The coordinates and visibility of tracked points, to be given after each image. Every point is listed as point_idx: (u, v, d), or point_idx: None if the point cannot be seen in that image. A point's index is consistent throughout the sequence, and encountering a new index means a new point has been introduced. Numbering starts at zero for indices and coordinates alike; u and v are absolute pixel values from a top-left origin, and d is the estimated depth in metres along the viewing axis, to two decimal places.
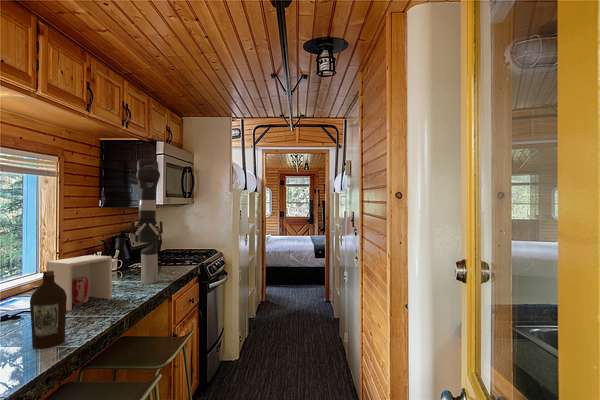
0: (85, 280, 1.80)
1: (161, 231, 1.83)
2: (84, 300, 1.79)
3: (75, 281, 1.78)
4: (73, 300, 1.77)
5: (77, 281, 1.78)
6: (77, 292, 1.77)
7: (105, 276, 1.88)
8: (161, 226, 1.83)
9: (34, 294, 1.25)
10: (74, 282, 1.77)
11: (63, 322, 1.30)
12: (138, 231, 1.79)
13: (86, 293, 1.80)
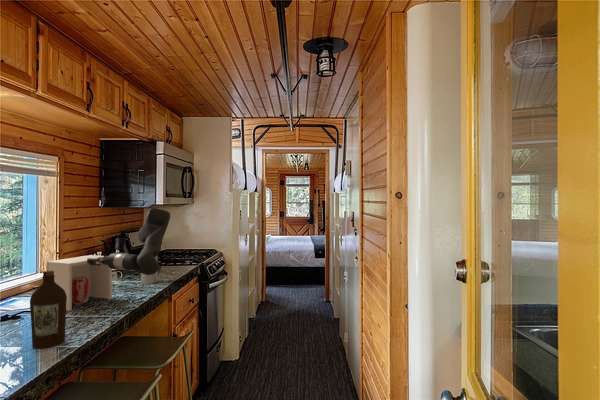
0: (85, 280, 1.80)
1: None
2: (84, 300, 1.79)
3: (75, 281, 1.78)
4: (73, 300, 1.77)
5: (77, 281, 1.78)
6: (77, 292, 1.77)
7: (105, 276, 1.88)
8: None
9: (34, 294, 1.25)
10: (74, 282, 1.77)
11: (63, 322, 1.30)
12: None
13: (86, 293, 1.80)
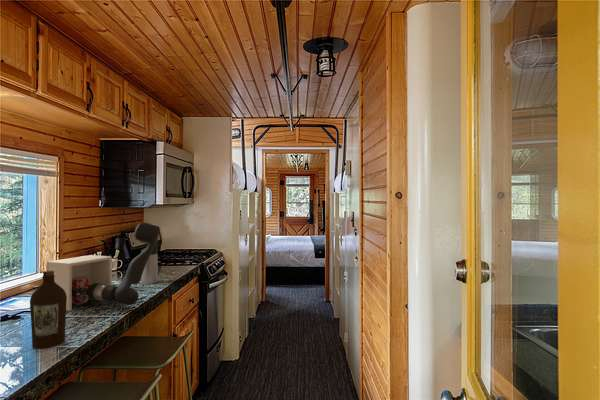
0: (85, 280, 1.80)
1: None
2: (84, 300, 1.79)
3: (75, 281, 1.78)
4: (73, 300, 1.77)
5: (77, 281, 1.78)
6: None
7: (105, 276, 1.88)
8: None
9: (34, 294, 1.25)
10: (74, 282, 1.77)
11: (63, 322, 1.30)
12: None
13: None
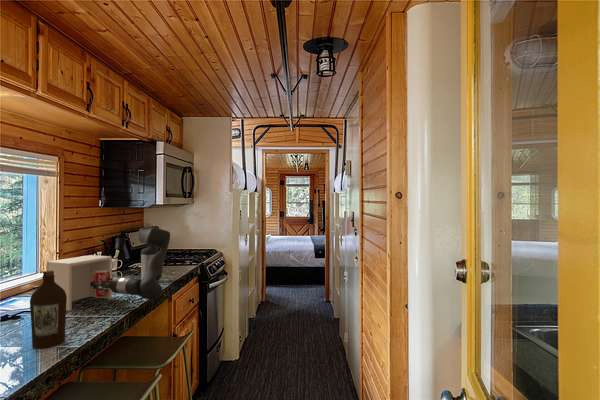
0: (107, 273, 1.74)
1: None
2: (106, 294, 1.73)
3: (97, 274, 1.72)
4: (95, 294, 1.72)
5: (99, 274, 1.72)
6: None
7: None
8: None
9: (34, 294, 1.25)
10: (96, 275, 1.72)
11: (63, 322, 1.30)
12: None
13: None
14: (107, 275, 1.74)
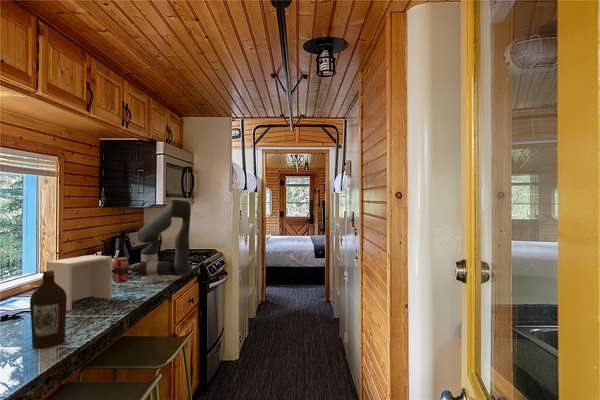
0: (127, 260, 1.85)
1: None
2: (127, 279, 1.84)
3: (119, 261, 1.82)
4: (117, 280, 1.81)
5: (121, 261, 1.82)
6: None
7: (105, 276, 1.88)
8: None
9: (34, 294, 1.25)
10: (118, 262, 1.81)
11: (63, 322, 1.30)
12: None
13: None
14: (127, 261, 1.85)
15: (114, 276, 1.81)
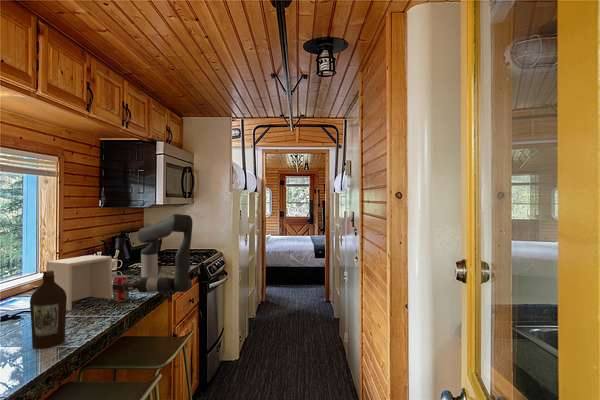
0: (127, 278, 1.85)
1: None
2: (127, 297, 1.84)
3: (119, 279, 1.82)
4: (117, 298, 1.81)
5: (122, 279, 1.82)
6: None
7: (105, 276, 1.88)
8: None
9: (34, 294, 1.25)
10: (118, 280, 1.81)
11: (63, 322, 1.30)
12: (124, 289, 1.81)
13: None
14: (128, 279, 1.85)
15: (114, 294, 1.81)
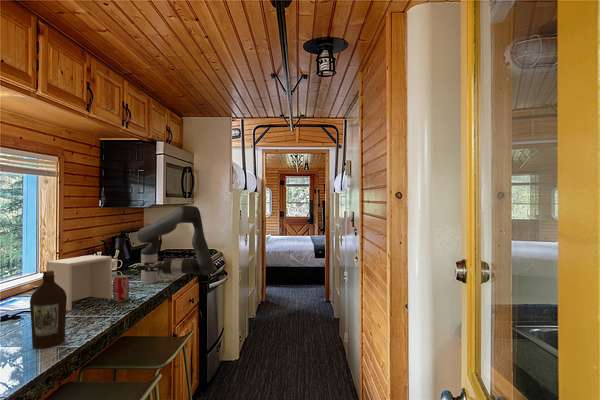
0: (127, 278, 1.85)
1: None
2: (127, 297, 1.84)
3: (119, 279, 1.82)
4: (117, 298, 1.81)
5: (122, 279, 1.82)
6: (122, 289, 1.82)
7: (105, 276, 1.88)
8: None
9: (34, 294, 1.25)
10: (118, 280, 1.81)
11: (63, 322, 1.30)
12: None
13: (128, 290, 1.85)
14: (128, 279, 1.85)
15: (114, 294, 1.81)
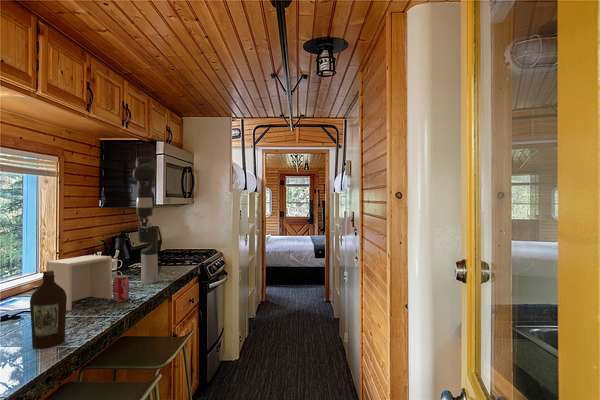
0: (127, 278, 1.85)
1: None
2: (127, 297, 1.84)
3: (119, 279, 1.82)
4: (117, 298, 1.81)
5: (122, 279, 1.82)
6: (122, 289, 1.82)
7: (105, 276, 1.88)
8: None
9: (34, 294, 1.25)
10: (118, 280, 1.81)
11: (63, 322, 1.30)
12: (146, 228, 1.86)
13: (128, 290, 1.85)
14: (128, 279, 1.85)
15: (114, 294, 1.81)
